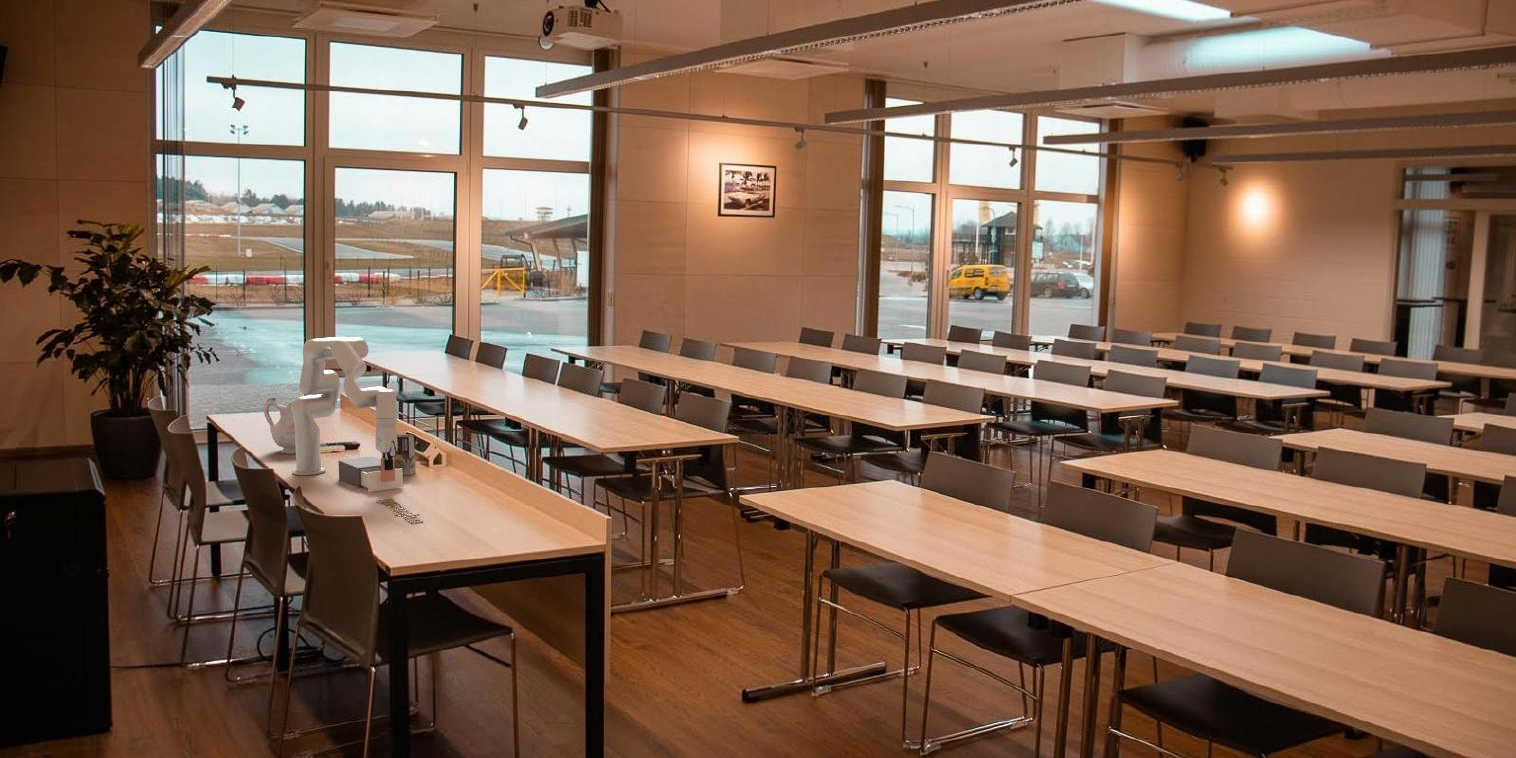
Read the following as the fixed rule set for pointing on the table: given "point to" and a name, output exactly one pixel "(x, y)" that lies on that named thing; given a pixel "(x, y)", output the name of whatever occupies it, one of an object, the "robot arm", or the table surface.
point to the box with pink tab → (381, 477)
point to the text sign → (393, 505)
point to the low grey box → (356, 469)
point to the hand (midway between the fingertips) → (387, 469)
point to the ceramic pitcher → (282, 426)
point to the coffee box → (405, 454)
